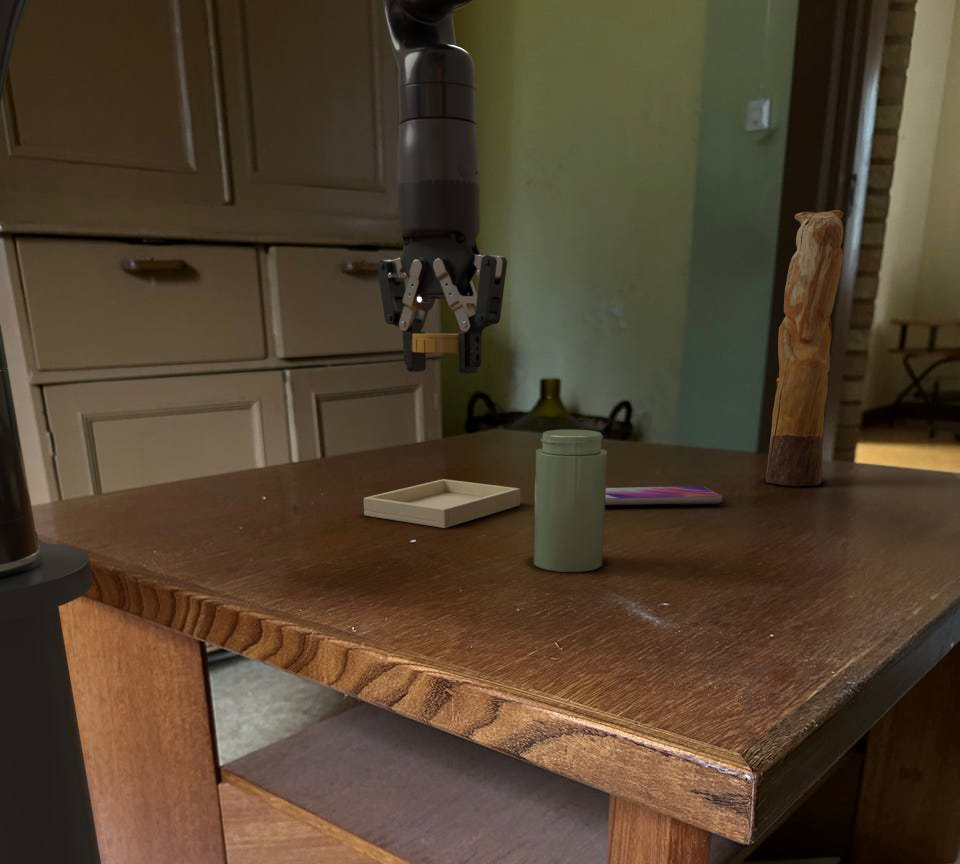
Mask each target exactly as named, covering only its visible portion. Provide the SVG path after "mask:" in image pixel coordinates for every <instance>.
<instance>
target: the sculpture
mask: <svg viewBox="0 0 960 864" xmlns="http://www.w3.org/2000/svg"><path fill="white" fill-rule="evenodd" d="M843 216H844V212H843V211H841V210H838V209H835V210H829V211H820V212H813V211H802V212H799V213H796V214H795V215H794V219H795V220H796V221H798V223H799V224H800V227H799V228H798V230H797V233H796V238H795V245H796V251H795V253H794V254H793V256H792V257H791V259H790V262H789V267H788V271H787V277H786V282H785V286H784V287H785V288H784V299H783V300H784V301H783V302H784V303H783V313H784V314H785V317H784V318H783V320H782V322H781V324H780V326H779V327H778V337H777V339H778V340H777V352H778V353H777V354H778V355H777V356H778V357H777V358H778V366H779V367H778V368H779V372H778V377H777V378H776V391H775V396H774V404H773V409H772V415H771V416H772V417H771V418H772V419H771V434H770V440H769V449H768V456H767V457H768V458H767V465H766V466H767V467H766V475H765V482H766V483H767V484H771V485H778V486H782V487H793V488H797V487H814V486H818V485H820V484H822V482H823V446H824V423H825V406H826V402H827V396H828V390H829V371H830V369H831V366H830V365H831V364H830V363H831V344H832V343H831V342H832V320H831V315H832V312H833V309H834V305H835V300H836V295H837V292H838V287H839V283H840V278H841V274H842V268H843V261H844V250H843V249H842V248H841V246H842V244H843V243H842V242H843V240H844V226H843V221H842V220H841V219H842V218H843Z"/></svg>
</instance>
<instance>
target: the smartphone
mask: <svg viewBox="0 0 960 864" xmlns="http://www.w3.org/2000/svg"><path fill="white" fill-rule="evenodd" d="M722 502H723V496H722V495H721V494H719V493H718V492H715V491H713V490H711V489H709V488H707V487H705V486H700V485H698V486H697V485H694V486H693V485H692V486H690V485H689V486H640V487H639V486H637V487H635V486H633V487H632V486H631V487H630V486H629V487H606V499H605V506H639V505H640V506H641V505H678V506H693V505H695V506H696V505H698V506H699V505H701V506H702V505H718V504H720V503H722Z"/></svg>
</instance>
